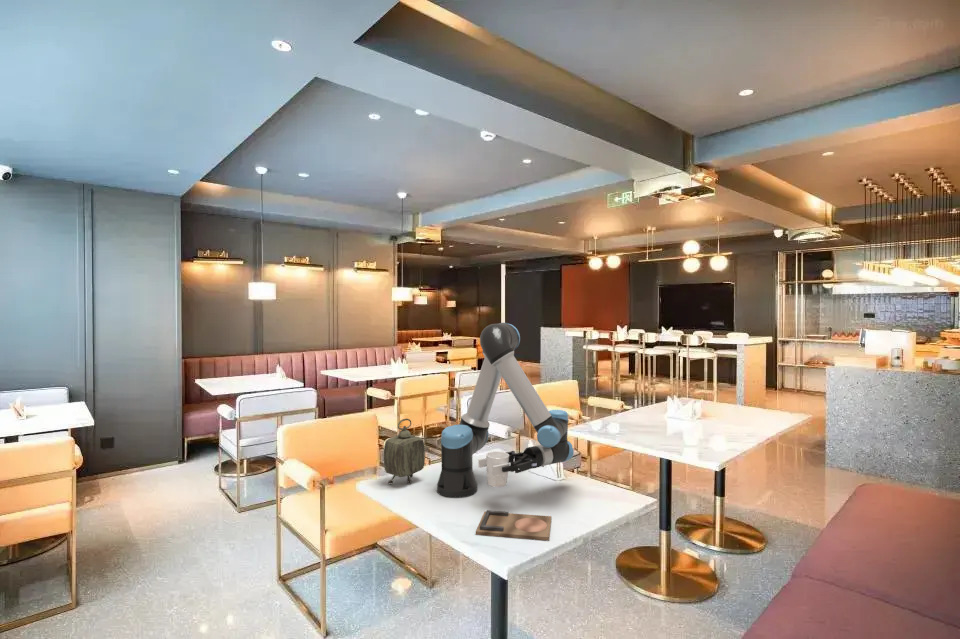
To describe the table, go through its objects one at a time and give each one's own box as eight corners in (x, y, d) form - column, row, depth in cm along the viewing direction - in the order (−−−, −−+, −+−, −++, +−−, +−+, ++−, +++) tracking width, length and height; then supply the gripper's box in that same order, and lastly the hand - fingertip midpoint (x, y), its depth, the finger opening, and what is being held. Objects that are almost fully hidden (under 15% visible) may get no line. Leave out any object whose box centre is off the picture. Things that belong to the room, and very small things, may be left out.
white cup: (506, 488, 168) (507, 459, 167) (483, 486, 169) (484, 457, 169) (510, 480, 175) (510, 452, 175) (488, 478, 177) (488, 450, 177)
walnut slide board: (475, 534, 151) (475, 528, 151) (484, 514, 166) (484, 508, 166) (549, 540, 147) (549, 534, 147) (551, 519, 162) (551, 513, 162)
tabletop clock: (411, 474, 205) (411, 414, 204) (427, 479, 199) (426, 417, 199) (383, 484, 194) (383, 420, 193) (399, 490, 188) (398, 424, 188)
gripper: (556, 474, 174) (504, 487, 161) (519, 459, 191) (469, 469, 178) (556, 453, 174) (504, 464, 161) (519, 439, 191) (469, 448, 178)
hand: (486, 467), depth 169 cm, fingers closed on white cup, 8 cm apart
